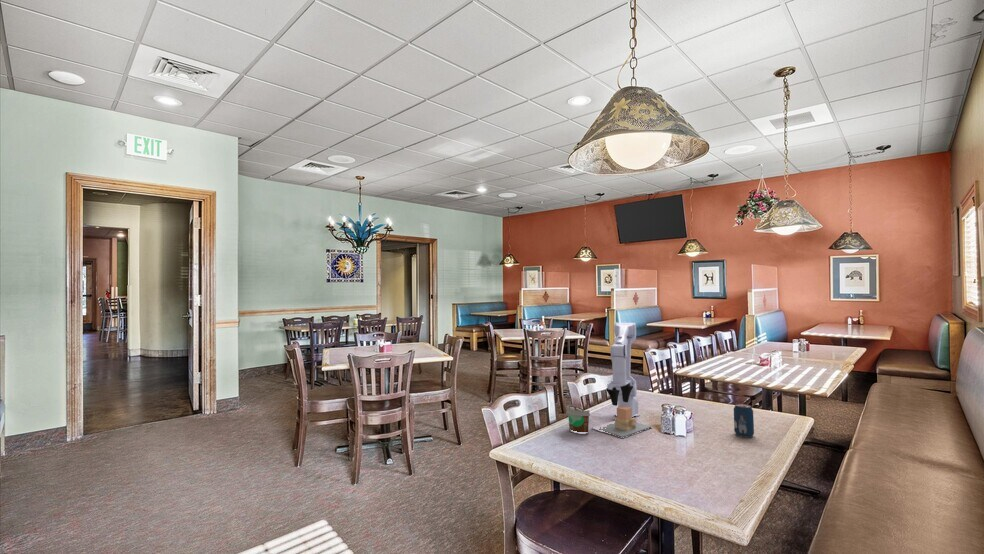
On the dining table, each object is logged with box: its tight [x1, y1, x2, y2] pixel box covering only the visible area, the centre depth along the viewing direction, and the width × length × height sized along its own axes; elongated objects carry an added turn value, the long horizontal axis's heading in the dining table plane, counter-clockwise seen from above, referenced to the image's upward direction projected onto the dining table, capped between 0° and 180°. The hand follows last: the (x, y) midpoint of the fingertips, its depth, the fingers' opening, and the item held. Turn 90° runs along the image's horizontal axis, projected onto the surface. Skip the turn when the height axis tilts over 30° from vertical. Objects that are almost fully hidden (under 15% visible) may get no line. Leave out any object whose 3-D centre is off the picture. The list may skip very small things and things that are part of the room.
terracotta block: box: [616, 406, 632, 420], centre depth 189 cm, size 4×4×4 cm
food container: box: [566, 403, 591, 433], centre depth 187 cm, size 12×6×10 cm, turn 25°
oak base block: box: [614, 417, 637, 431], centre depth 188 cm, size 6×6×4 cm
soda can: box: [733, 403, 755, 438], centre depth 179 cm, size 7×7×12 cm
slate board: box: [599, 422, 652, 439], centre depth 190 cm, size 20×16×1 cm
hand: (620, 403), depth 191 cm, fingers open, 7 cm apart
